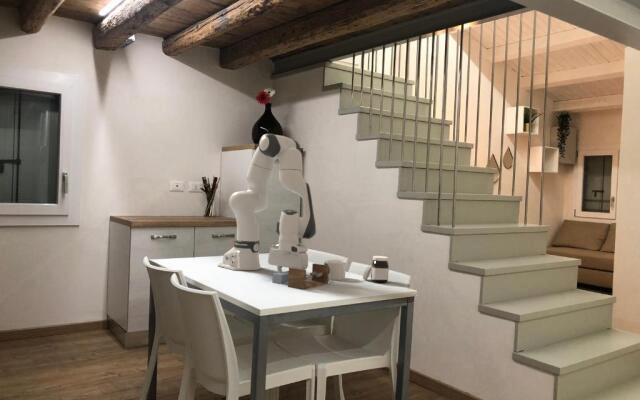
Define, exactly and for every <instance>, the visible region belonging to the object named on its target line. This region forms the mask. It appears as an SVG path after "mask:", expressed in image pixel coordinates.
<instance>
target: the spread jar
mask: <svg viewBox="0 0 640 400" xmlns="http://www.w3.org/2000/svg"><path fill="white" fill-rule="evenodd" d="M388 261H389V257H388V256H385V255H383V256H382V255H373V256H372V262H371V265H368V266H367V267H366V269H365V270H364V272H363V276H362V279H363V280H365V281H367V280H368V278H369V277H370V280H371V282H372V283H376V284H386V283H388V281H389V270H390V267H389V262H388Z"/></svg>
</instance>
